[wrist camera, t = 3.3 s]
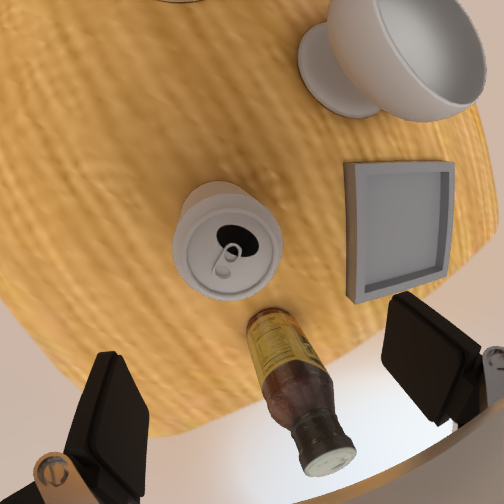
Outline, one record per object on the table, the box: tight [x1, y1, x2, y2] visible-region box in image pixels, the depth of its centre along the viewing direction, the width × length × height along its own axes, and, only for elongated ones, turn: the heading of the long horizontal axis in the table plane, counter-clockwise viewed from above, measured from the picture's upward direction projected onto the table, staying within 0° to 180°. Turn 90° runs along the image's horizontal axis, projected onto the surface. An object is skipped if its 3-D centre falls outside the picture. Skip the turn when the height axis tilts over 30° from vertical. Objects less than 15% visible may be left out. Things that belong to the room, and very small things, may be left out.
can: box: [172, 181, 283, 301], centre depth 23 cm, size 8×8×12 cm
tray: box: [343, 161, 455, 305], centre depth 32 cm, size 16×16×2 cm
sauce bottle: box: [247, 309, 356, 477], centre depth 25 cm, size 7×6×20 cm
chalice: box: [297, 0, 487, 122], centre depth 19 cm, size 14×14×15 cm
